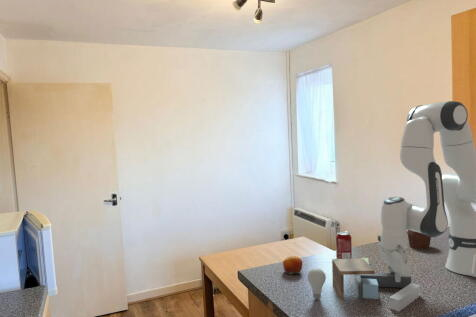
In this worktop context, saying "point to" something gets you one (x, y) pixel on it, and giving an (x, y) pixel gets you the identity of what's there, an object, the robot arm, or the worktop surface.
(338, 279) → the shelf
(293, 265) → the fruit
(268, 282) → the worktop surface
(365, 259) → the pale green stick
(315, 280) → the lightbulb
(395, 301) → the grey stick
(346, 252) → the soda can
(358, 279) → the hook tool
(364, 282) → the block
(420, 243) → the muffin
